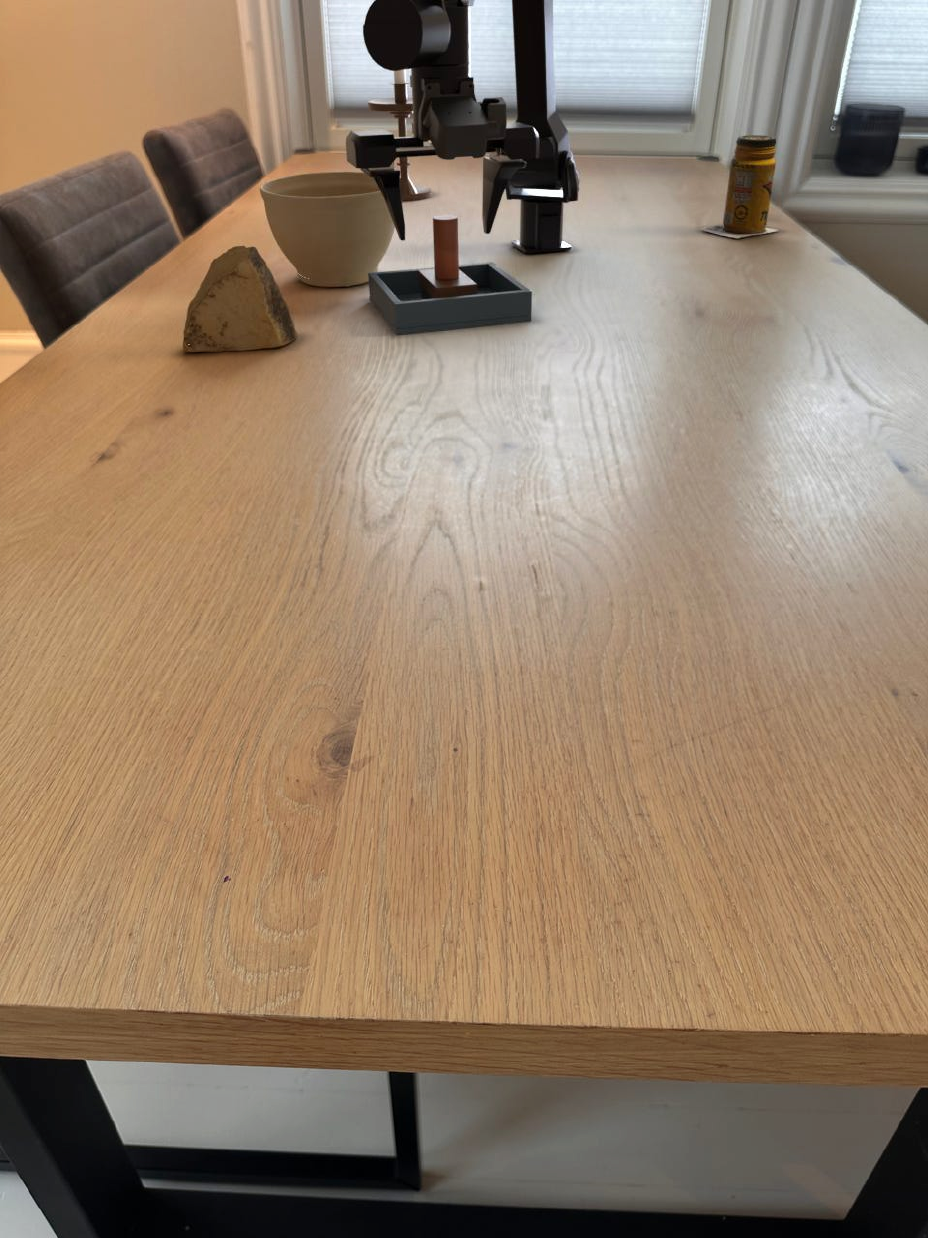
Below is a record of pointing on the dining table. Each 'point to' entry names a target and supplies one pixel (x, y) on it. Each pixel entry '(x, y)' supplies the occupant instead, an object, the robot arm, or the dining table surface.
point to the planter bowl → (329, 225)
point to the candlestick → (401, 132)
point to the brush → (445, 264)
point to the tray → (449, 301)
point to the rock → (238, 307)
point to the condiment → (748, 188)
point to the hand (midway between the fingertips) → (445, 236)
